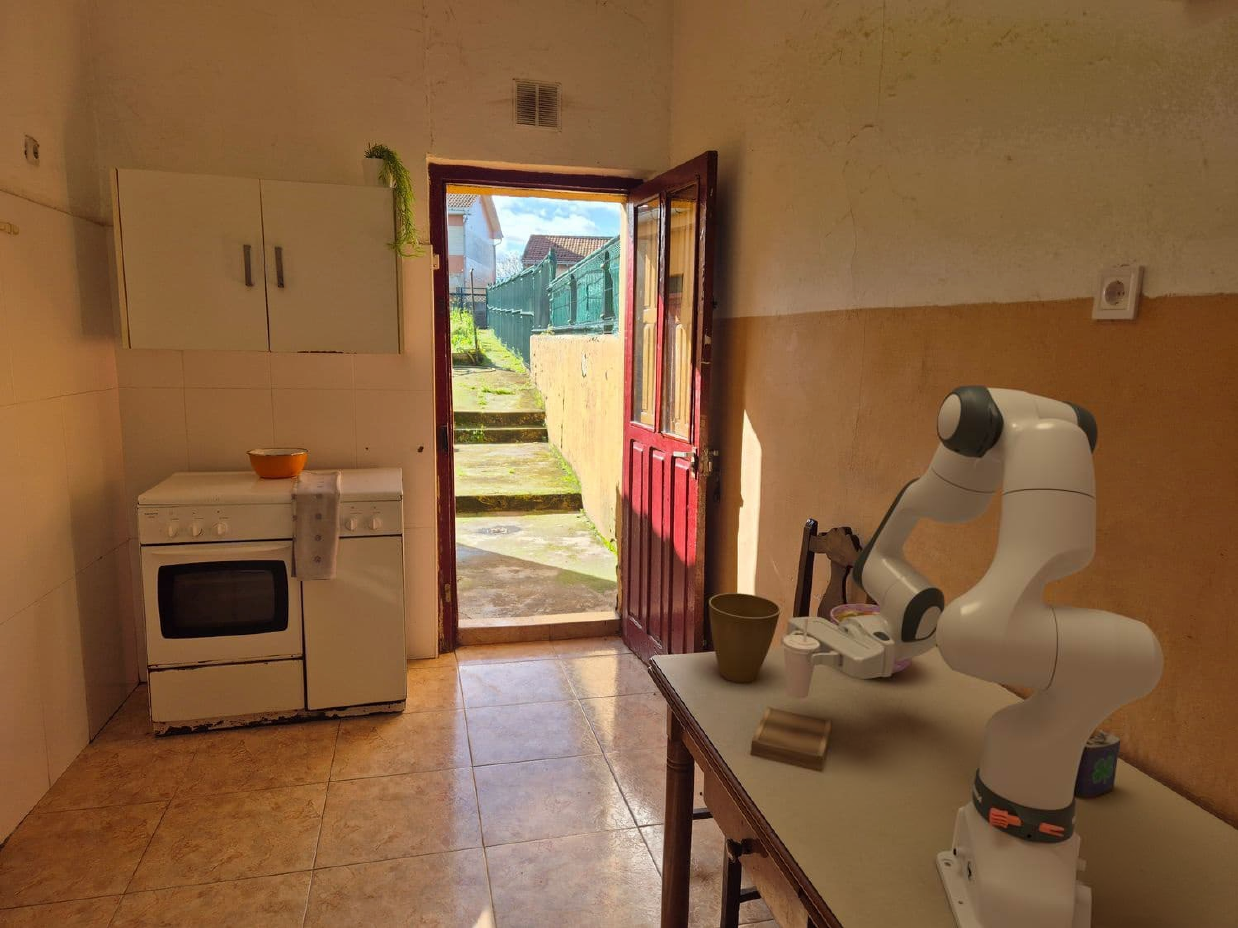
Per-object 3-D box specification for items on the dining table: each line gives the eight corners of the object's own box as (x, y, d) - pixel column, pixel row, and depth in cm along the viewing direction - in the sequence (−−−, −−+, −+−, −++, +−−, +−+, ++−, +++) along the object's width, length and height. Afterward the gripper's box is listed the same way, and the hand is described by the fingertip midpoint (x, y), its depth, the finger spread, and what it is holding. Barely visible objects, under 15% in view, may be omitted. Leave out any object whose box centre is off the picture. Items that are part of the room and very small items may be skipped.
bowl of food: (822, 677, 167) (827, 626, 165) (828, 644, 186) (832, 598, 184) (921, 695, 161) (927, 642, 159) (917, 659, 180) (922, 611, 178)
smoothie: (813, 704, 133) (820, 627, 131) (776, 697, 135) (782, 621, 133) (817, 689, 139) (823, 614, 137) (781, 682, 141) (786, 609, 139)
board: (821, 771, 130) (823, 756, 129) (750, 754, 134) (751, 739, 134) (831, 733, 143) (832, 719, 142) (765, 719, 147) (767, 706, 146)
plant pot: (693, 680, 163) (698, 607, 160) (718, 656, 176) (723, 588, 173) (762, 697, 156) (768, 621, 153) (782, 671, 169) (788, 601, 166)
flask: (1102, 781, 131) (1111, 722, 129) (1119, 790, 128) (1129, 730, 127) (1065, 792, 127) (1074, 731, 125) (1082, 802, 125) (1092, 740, 123)
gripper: (824, 605, 150) (764, 612, 144) (901, 645, 131) (835, 655, 126) (821, 636, 151) (761, 644, 145) (897, 680, 132) (832, 692, 127)
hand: (796, 650), depth 135 cm, fingers closed on smoothie, 6 cm apart
